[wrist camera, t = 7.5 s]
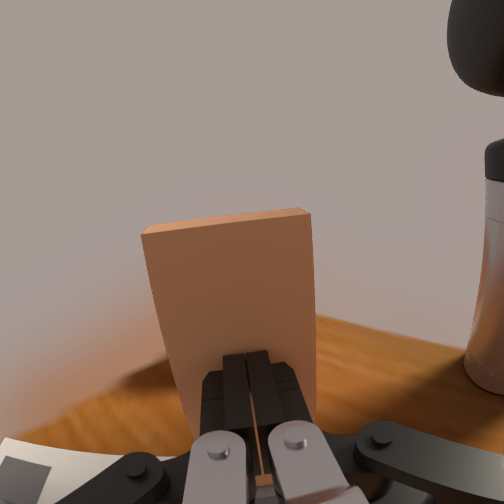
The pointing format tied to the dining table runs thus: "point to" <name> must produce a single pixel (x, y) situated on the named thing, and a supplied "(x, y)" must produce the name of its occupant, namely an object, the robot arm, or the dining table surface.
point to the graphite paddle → (5, 501)
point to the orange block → (235, 301)
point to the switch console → (46, 471)
